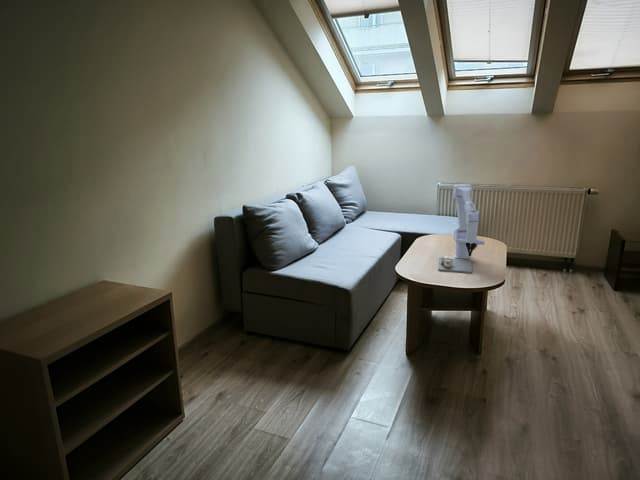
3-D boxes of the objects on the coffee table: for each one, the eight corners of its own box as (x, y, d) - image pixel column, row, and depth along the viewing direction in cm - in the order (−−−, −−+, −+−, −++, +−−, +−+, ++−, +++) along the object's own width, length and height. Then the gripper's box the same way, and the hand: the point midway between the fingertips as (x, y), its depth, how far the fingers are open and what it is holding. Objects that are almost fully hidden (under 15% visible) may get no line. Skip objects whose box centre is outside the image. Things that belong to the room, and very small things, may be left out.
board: (439, 259, 269) (439, 257, 269) (470, 261, 264) (470, 259, 264) (438, 270, 249) (438, 269, 249) (472, 273, 245) (472, 271, 244)
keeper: (440, 263, 258) (441, 256, 257) (452, 264, 257) (452, 257, 256) (440, 264, 256) (440, 257, 255) (452, 265, 254) (452, 258, 253)
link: (451, 268, 249) (451, 263, 249) (444, 267, 250) (444, 263, 250) (451, 258, 266) (451, 254, 265) (444, 258, 267) (445, 253, 266)
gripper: (458, 233, 252) (456, 256, 256) (485, 235, 248) (483, 258, 252) (458, 230, 259) (456, 252, 263) (484, 232, 255) (482, 254, 259)
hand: (469, 255), depth 258 cm, fingers closed
